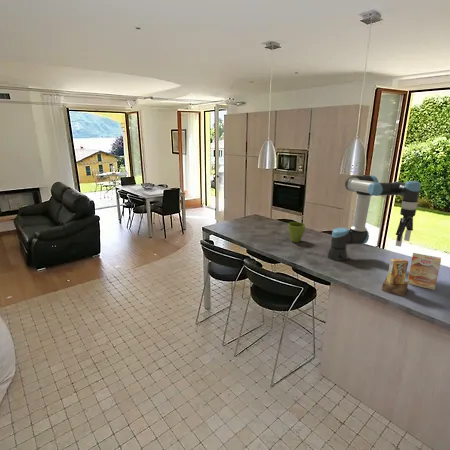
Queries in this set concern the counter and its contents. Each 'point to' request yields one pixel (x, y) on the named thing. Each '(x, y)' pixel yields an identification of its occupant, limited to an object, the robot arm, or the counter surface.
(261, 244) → the counter surface
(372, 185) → the robot arm
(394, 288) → the walnut block
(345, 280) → the counter surface
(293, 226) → the flower pot
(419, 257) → the coffeecake box
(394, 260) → the candy box
